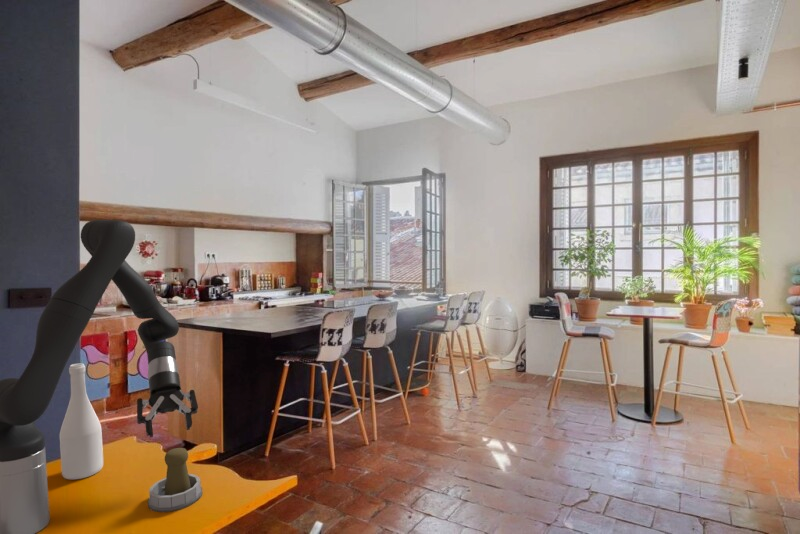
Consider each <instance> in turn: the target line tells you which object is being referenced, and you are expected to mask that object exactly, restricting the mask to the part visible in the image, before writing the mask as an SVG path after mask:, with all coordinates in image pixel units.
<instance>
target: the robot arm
mask: <svg viewBox="0 0 800 534" xmlns="http://www.w3.org/2000/svg"><path fill="white" fill-rule="evenodd" d="M80 240H81V244H82V246H83V247H84V248H85V250H86V251H87V252H88V254H89V255H90V256H91V258H90V259H89V261H88V262H87V263H86V264H85V265H84V266H83V268H81V269H80V270H79V271H77V272H76V273H75V274H74V275H72V277H70V278H69V279H68V280H67V281H66V282H64V283H63V284H61V285H60V287H59V288H57V290H56V291H55V292H54V293H53V294H52V296H51V297H50V299H49V301H48V302H47V304H46V306H45V307H44V309H43V311H42V313H41V315H40V317H39V319H38V323H37V327H36V335H35V344H34V346H35V347H34V350H33V353H32V356H31V358H30V360H29V362H28V363H27V365H26V367H25V369H24V371H23V372H22V374H21V375H20V377H19V378H16V377H15V378H14V377H12V378H11V377H9V378H4V379H3V378H2V379H0V534H36V533H38V532H40V531H42V530H43V529H45V528H46V527H47V526H48V525H49V523H50V507H49V506H50V505H49V503H50V502H49V488H48V487H49V486H48V485H49V484H48V473H47V457H46V455H47V454H46V442H45V441H46V440H45V435H44V433H42V431H40V430H39V428H38V427H37V426H36V424H35V422H36V421H37V420H38V419H40V418H41V417H42V415H43V414H45V412H46V411H47V409H48V407H49V405H50V403H51V401H52V399H53V398H54V397H53V396H54V394H55V392H56V389H57V386H58V384H59V382H60V378H61V376H62V374H63V372H64V369H65V368H66V365H67V363H68V362H69V359H70V357H71V355H72V354H73V351H74V350H75V347H76V345H77V344H78V342H79V339H80V338H81V337H82V334H83V332H84V331H85V329H86V327H87V326H88V324H89V322H90V320H91V318H92V316H93V315H94V313H95V310H96V308H97V307H98V304H99V303H100V301H101V299H102V297H103V295H104V294H105V292H106V290H107V288H108V287H109V285H110V283H111V281H112V282H113V283H114V285H115V286H116V287H117V289H118V290H119V292H121V294H122V296H123V298H124V299H125V302H127V304H128V306H129V308H130V310H131V311H132V313H133V314H134V316H135V317H136V318H137V319H142V320H144V321H142V322H140V324H139V326H138V328H137V333H138V337H139V338H140V340H141V342H142V343H143V346H144V348H145V351H146V355H147V364H148V365H147V367H148V368H147V380H148V385H149V398H148V399H143V398H141V397H139V398H137V400H136V423H137V424H138V425H141V424H144V426H145V434H146V436H147V437H148V436H149V438H154V430H153V420H154V419H155V418H156V417H157V416H158V414H166V413H172V412H175V411H177V412H178V413H180V414H182V415H184V420H185V428H186V431H189V430H190V429H191V428H192V426H193V418H192V415H194V414H197V413H198V408H199V406H198V401H197V396H196V392H195V389H190V390H189V391H188V392H183V391H182V386H181V379H180V372H179V366H178V363H177V357H176V350H175V345H174V344H173V343H172V342H170V341H165V340H168V339H171V338H173V337H176V336H177V335H178V333H179V332H180V331H179V330H180V325H179V323H178V320H177V319H176V317H175V316H174V315H173V314H172V313H171V312H169V311H168V310H167V309H166V308H165V307H164V306H163V305H162V304H161V302H160V301H159V299H158V298H157V296H156V294H155V292H154V290H153V288H152V286H151V285H150V284H149V282H148V281H147V280H146V279H145V278H144V277H143V276H141V275H140V273H138V272H137V271H136V270H135V269H134V267H132V266H131V265H130V264H129V263H128V262H127V260H126V259H127V257H128V256H129V254H130V253H131V251H132V249H133V248H134V245H135V242H136V232H135V228H134V226H133V225H132V224H131V223H129V222H127V221H125V220H120V219H119V220H118V219H93V220H90V221H88V222H86V223H85V224H84V225H83V226H82V228H81V231H80ZM145 319H146V320H145ZM184 399H186V400H187V401H189V404H190V407H188V406H187V405H186V403H185V402H183V400H184ZM148 405H149V406H150V407H151V409H150V411H149V412H148V413H147V415H146V416H144V415H143V409H145V408H146V407H147V406H148Z"/></svg>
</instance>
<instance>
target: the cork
mask: <svg viewBox="0 0 800 534" xmlns="http://www.w3.org/2000/svg"><path fill="white" fill-rule="evenodd" d="M188 459H189V452H188V450H187V449H186V448H184V447H175V448H172V449H170V450H168V451H167V452H166V453H165V455H164V462H165V465H166V467H167V469H166V476H165V478H166V486H165V495H175V494H178V493H182V492H185V491H186V490H188V489H190V488H191V485H190V480H189V475H188V474H189V471H188V465H187V461H188Z"/></svg>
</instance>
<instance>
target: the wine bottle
mask: <svg viewBox="0 0 800 534" xmlns="http://www.w3.org/2000/svg"><path fill="white" fill-rule="evenodd" d="M85 372H86V365H85V363H82V362H81V363H72V364H70V365H69V367H68V373H69V375H70V397H69V403H68V406H67V409H66V411H65V415H64V418H63V421H62V424H61V427H60V431H59V451H60V463H61V464H60V465H61V476H62V477H63V478H64V479H66V480H81V479H85V478H89V477H92V476H93V475H95V474H97V473H99V472H100V471H101V470H102V468H103V467H104V450H103V446H104V445H103V434H102V432H103V431H102V424H101V422H100V419H99V417H98V415H97V414H96V412H95V409H94V407H93V405H92V403H91V402H90V399H89V396H88V393H87V386H86V385H87V384H86V374H85Z"/></svg>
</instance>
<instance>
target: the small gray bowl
mask: <svg viewBox="0 0 800 534" xmlns="http://www.w3.org/2000/svg"><path fill="white" fill-rule="evenodd" d="M188 475H189V480H190V485H191V488H190V489H188V490H186V491H185V492H182V493H178V494H175V495H165V486H166V477H164V478H162V479H160V480H158V481H156V482H154V484H152V486H150V488H149V489H148V490H149V498H148V500H147V506H148V508H149V510H151V511H153V512H158V513H168V512H169V513H170V512H176V511H179V510H182V509H186V508H188V507H189V506H191V505H193V504H195V503H196V502H198V501H199V500H200V499H201V497H202V496H203V488H202V484H201V483H202V481H201V479H200V477H199V476H198V475H196V474H192V473H188Z"/></svg>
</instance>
